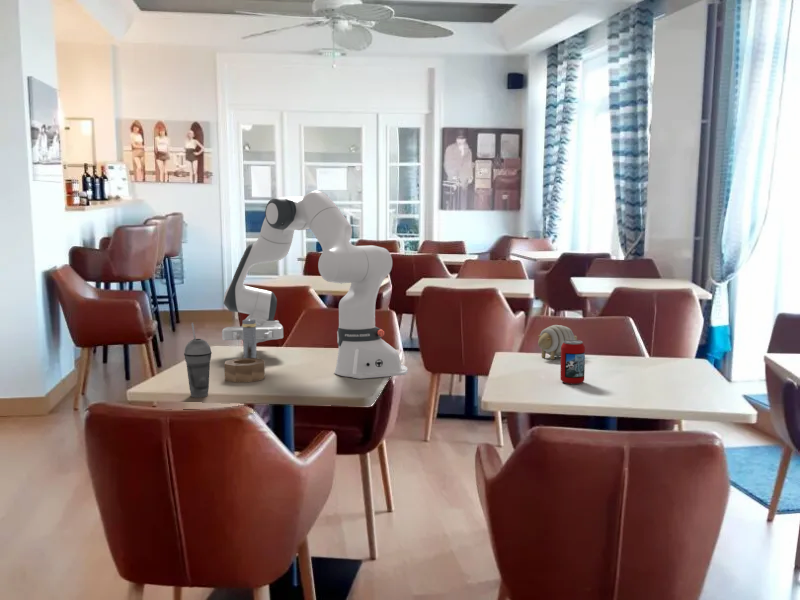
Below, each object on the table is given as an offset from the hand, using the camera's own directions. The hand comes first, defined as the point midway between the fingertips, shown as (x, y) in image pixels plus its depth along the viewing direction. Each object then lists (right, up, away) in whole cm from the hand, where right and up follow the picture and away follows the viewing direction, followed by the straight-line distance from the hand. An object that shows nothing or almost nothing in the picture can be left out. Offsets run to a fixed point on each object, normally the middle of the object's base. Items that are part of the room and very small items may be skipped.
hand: (251, 336), depth 249 cm
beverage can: (+98, -12, -30) cm, 103 cm away
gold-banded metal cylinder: (+2, -10, -10) cm, 14 cm away
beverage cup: (-6, -14, -42) cm, 45 cm away
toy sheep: (+102, -8, +8) cm, 102 cm away
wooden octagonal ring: (+2, -11, -21) cm, 24 cm away
